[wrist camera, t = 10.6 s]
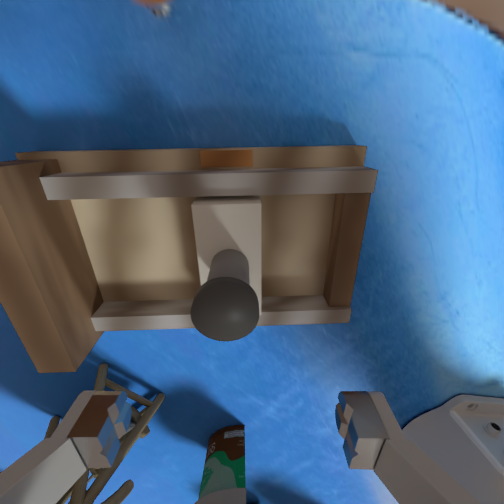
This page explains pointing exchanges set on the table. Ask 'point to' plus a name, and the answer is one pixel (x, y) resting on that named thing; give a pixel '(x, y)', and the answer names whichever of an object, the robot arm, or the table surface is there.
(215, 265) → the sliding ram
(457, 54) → the table surface
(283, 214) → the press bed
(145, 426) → the swing bench
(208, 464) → the food container
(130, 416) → the robot arm
